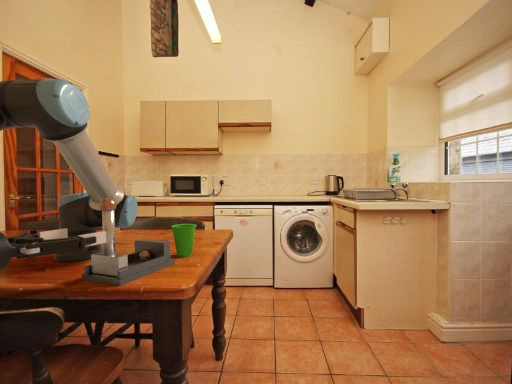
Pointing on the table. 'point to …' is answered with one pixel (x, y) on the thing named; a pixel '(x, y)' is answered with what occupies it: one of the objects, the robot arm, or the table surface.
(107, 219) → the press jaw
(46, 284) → the table surface
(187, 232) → the cup
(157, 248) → the base
